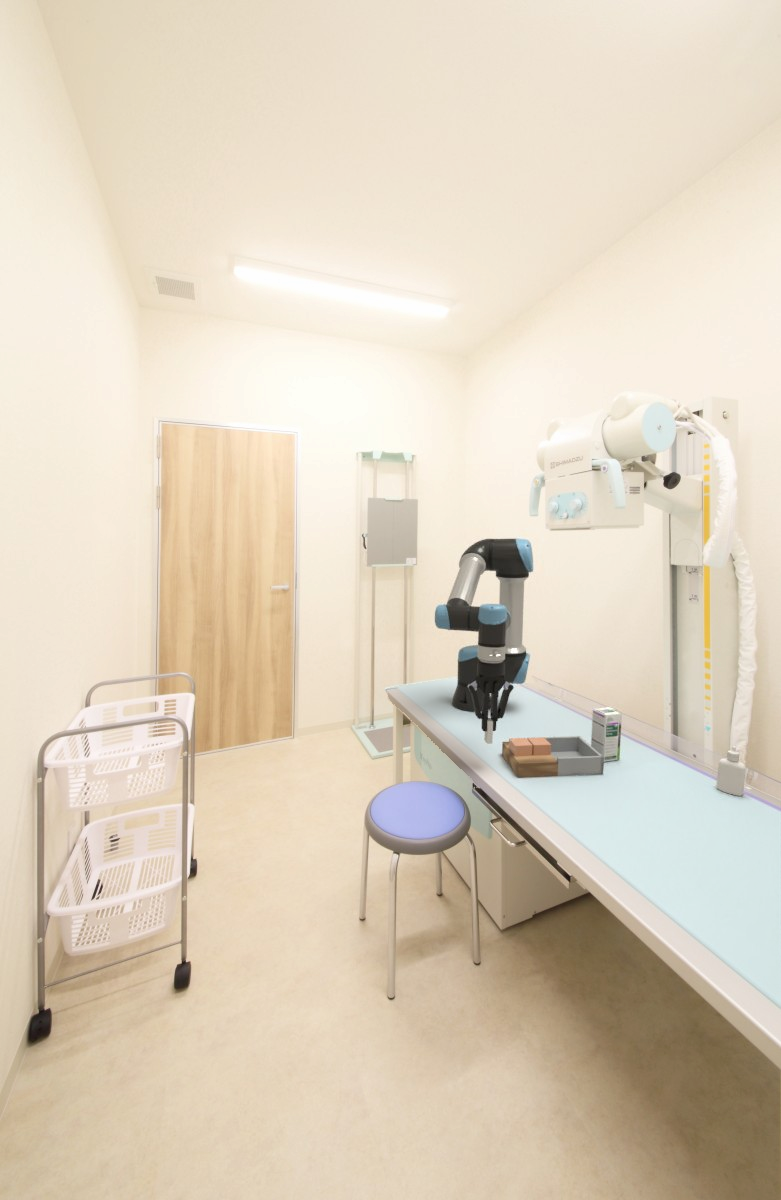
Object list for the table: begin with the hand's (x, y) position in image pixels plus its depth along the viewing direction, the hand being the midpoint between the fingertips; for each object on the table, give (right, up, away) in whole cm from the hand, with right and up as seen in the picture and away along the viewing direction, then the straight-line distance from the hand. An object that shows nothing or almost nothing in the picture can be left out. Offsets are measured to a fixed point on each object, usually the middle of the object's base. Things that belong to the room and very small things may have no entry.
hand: (488, 741), depth 133 cm
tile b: (+15, -3, +2) cm, 15 cm away
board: (+12, -7, +2) cm, 14 cm away
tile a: (+9, -3, +1) cm, 10 cm away
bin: (+24, -7, +3) cm, 25 cm away
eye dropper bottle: (+60, -10, -12) cm, 62 cm away
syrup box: (+36, -7, +7) cm, 38 cm away
